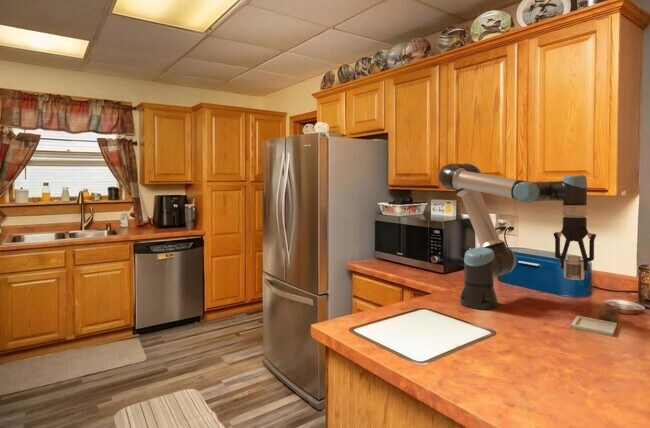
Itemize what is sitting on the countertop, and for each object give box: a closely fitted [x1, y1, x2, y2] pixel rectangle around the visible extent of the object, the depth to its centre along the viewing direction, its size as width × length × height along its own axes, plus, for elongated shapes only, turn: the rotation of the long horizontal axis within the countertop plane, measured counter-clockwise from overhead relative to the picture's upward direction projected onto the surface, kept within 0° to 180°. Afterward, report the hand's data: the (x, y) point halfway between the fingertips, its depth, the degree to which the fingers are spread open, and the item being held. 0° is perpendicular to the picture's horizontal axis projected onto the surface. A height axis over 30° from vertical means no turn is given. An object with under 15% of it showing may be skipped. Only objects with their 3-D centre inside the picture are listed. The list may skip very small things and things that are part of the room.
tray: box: [570, 315, 618, 337], centre depth 137 cm, size 12×12×1 cm
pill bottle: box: [566, 255, 582, 281], centre depth 146 cm, size 5×5×8 cm
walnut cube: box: [598, 304, 620, 325], centre depth 143 cm, size 5×5×5 cm
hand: (574, 277), depth 146 cm, fingers closed on pill bottle, 5 cm apart
